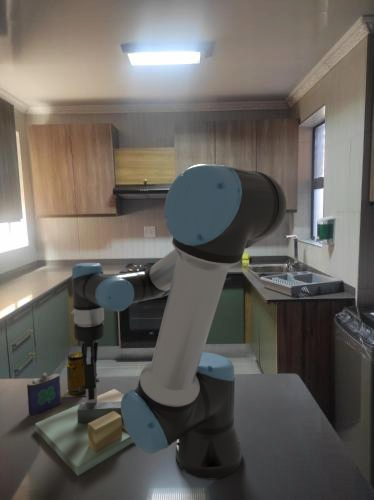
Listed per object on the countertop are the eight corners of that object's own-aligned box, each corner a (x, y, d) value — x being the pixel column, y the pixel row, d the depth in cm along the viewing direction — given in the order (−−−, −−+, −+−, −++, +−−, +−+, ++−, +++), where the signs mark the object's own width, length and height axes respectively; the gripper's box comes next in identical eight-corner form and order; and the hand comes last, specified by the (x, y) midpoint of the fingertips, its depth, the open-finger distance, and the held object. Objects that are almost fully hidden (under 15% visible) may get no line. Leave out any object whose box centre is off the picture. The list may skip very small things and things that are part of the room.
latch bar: (137, 411, 89) (137, 397, 89) (136, 420, 85) (136, 405, 85) (80, 415, 88) (80, 400, 87) (77, 424, 84) (76, 409, 83)
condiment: (69, 386, 108) (68, 350, 107) (96, 384, 109) (95, 349, 108) (63, 397, 101) (62, 360, 100) (92, 396, 102) (90, 358, 101)
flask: (58, 400, 99) (57, 366, 98) (63, 404, 97) (62, 369, 96) (27, 414, 92) (25, 377, 91) (31, 418, 90) (29, 381, 89)
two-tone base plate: (162, 424, 87) (161, 397, 86) (77, 476, 70) (76, 442, 69) (114, 394, 102) (113, 371, 102) (35, 430, 85) (34, 403, 84)
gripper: (76, 316, 91) (79, 397, 93) (70, 332, 78) (74, 425, 81) (104, 314, 93) (107, 393, 95) (103, 329, 80) (106, 420, 83)
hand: (92, 408), depth 88 cm, fingers closed
